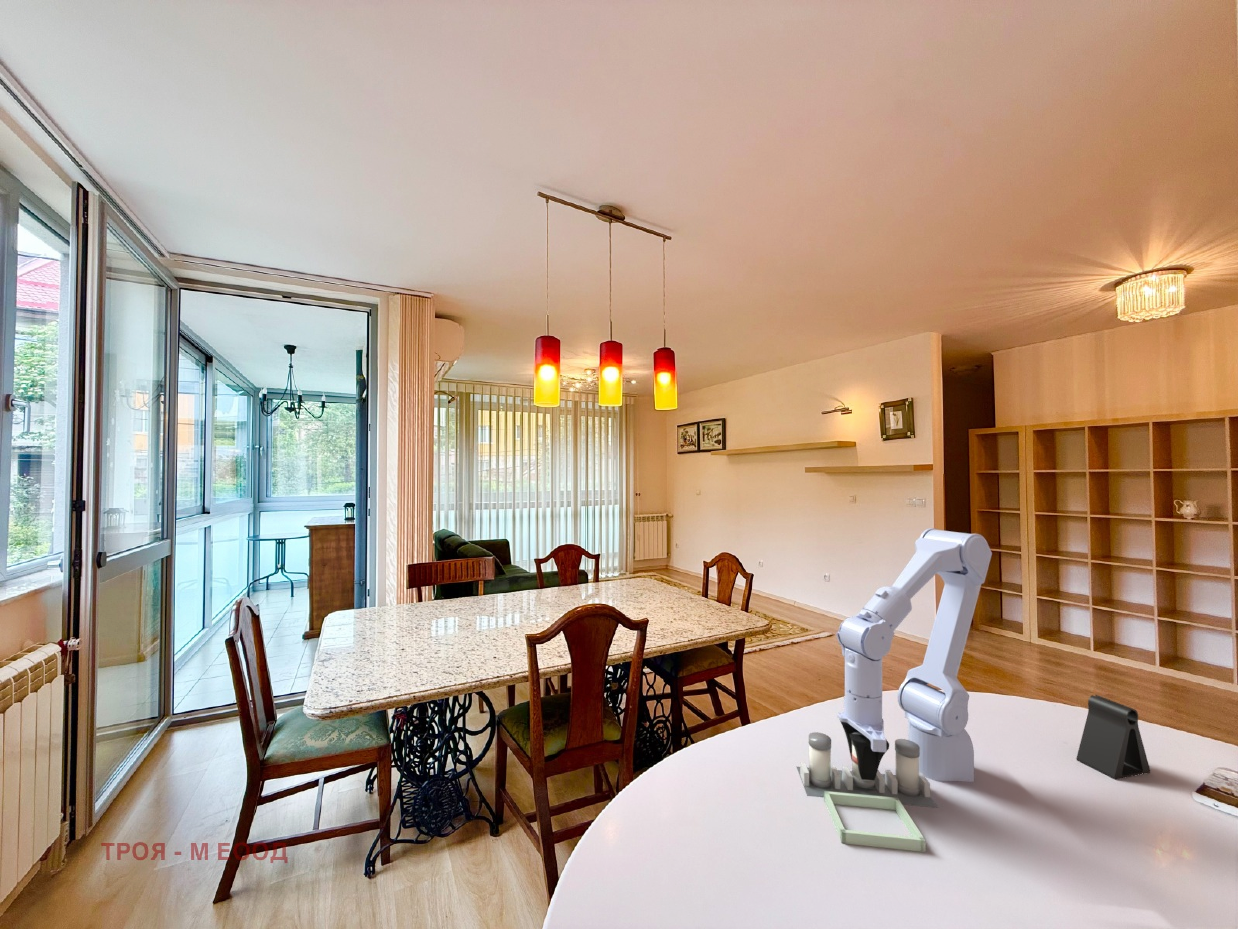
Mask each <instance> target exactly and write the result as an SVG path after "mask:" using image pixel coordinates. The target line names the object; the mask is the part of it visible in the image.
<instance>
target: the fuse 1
mask: <svg viewBox="0 0 1238 929" xmlns="http://www.w3.org/2000/svg"><path fill="white" fill-rule="evenodd" d="M808 745H809V746H808V752H809V754H808V759H809V760H808V768H809V782H810V783H811V784H812V785H813V786H815V787H818V788H822V789H826V788H829V787H831V765H832V764H831V760H832V757H831V756H832V754H831V752H832V751H831V749H832V739H831V737H830V736H829V735H827V734H826V733H822V732H816V731H814V732H813V731H812V732H810V733H809V734H808Z"/></svg>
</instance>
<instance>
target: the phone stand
mask: <svg viewBox="0 0 1238 929" xmlns="http://www.w3.org/2000/svg"><path fill="white" fill-rule="evenodd" d="M1087 708H1088V710H1087V715H1086V720H1085V723H1084V728H1083V730H1082V731H1083V732H1082V735H1081V739H1080V743H1079V748H1078V751H1077V755H1076V761H1078V762H1079V761H1080V763H1082V764H1083V763H1084V765H1086V766H1087V767H1090V768H1092V769H1094V770H1096V771H1097V772H1100V773H1101V774H1104V775H1106V776H1108V777H1110V778H1111V779H1113V780H1120V779H1125V777H1126V778H1130V777H1135V775H1137V776H1141V775H1140V774H1142V773H1143V774H1142V775H1145V774H1144V773H1147V774H1150V773H1151V768H1150V765H1149V761H1148V757H1147V753H1146V750H1145V746H1144V742H1143V738H1142V735H1141V731H1140V728H1139V713H1138V710H1136V709H1135V708H1132V707H1130V706H1127V705H1124V704H1122V703H1119V702H1117V701H1114V700H1110V699H1109V698H1105V697H1103V696H1102V695H1097V694H1095V695H1093V694H1092V695H1090V696H1089V699H1088V701H1087ZM1138 774H1139V775H1138Z"/></svg>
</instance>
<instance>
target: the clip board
mask: <svg viewBox="0 0 1238 929" xmlns="http://www.w3.org/2000/svg"><path fill="white" fill-rule="evenodd" d="M796 769H797V771H798V774H799V775H798V776H799V778H800V780H801V783H802V785H803V788H804V791H805V793H806V796H807V797H817V798H824V791H829V792H840V793H851V794H861V795H872V796H883V797H894V798H898V799H899V800H900V802H901V804H902V805H903V806H912V807H913V806H915V807H926V808H937V809H939V806H938V805H937V804H936V802H935V801H934V800H933V798H932V797H931V783H930V782H929V781H928V778H926V777H924V775H923V774H922V773H919V785H920V794H919V796H916V797H910V796H906V795H904V794H902V793H900V792H898V781H897V779H896V778H895V774H894V773H893V772H892V771H891V769H885V770H884V773H881V771H879V769H878V771H877V774H876V778H875V787H874V788H872V789H865V788H861V787H859V786H857V785H855V784H854V783H853V776H852V770H850V769H849V768H848V766H846V765H842V767H841V769H837V766H836V765H834V764H831V787H829V788H826V789H822V788H818V787H815V786H813V785H812V784H811V783H810V782H809V766H808V767H807V765H806V762H800V763H799V766H796Z"/></svg>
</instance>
